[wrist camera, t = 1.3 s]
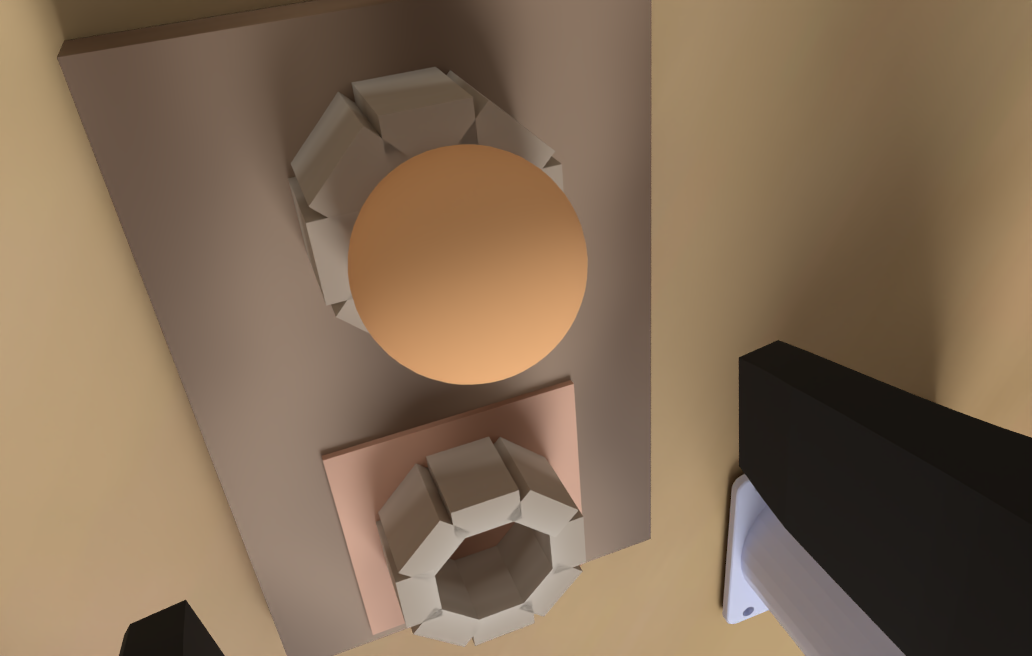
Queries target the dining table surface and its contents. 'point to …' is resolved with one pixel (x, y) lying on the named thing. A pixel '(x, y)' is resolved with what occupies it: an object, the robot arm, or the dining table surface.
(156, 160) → the rack
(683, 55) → the dining table surface
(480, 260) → the ball
